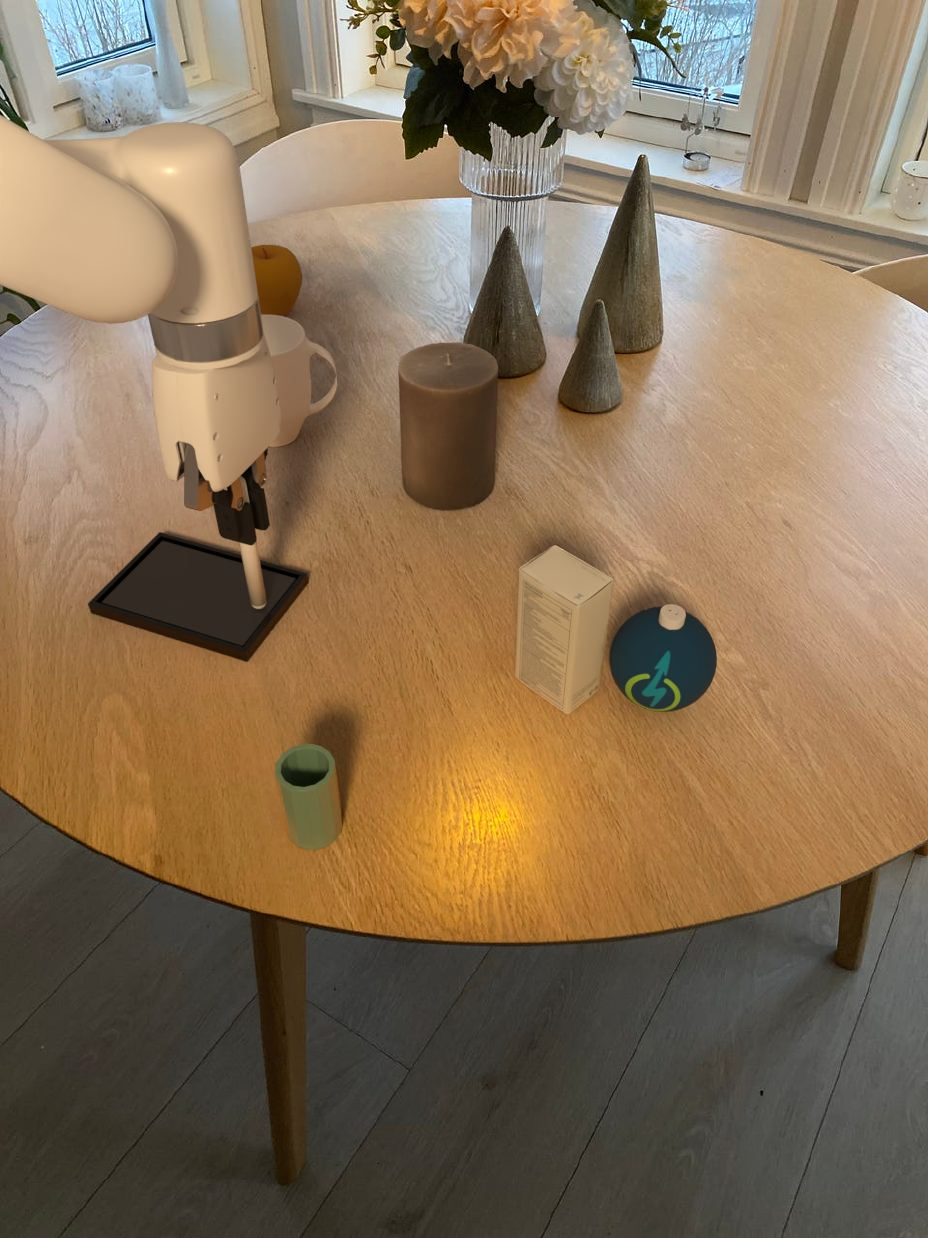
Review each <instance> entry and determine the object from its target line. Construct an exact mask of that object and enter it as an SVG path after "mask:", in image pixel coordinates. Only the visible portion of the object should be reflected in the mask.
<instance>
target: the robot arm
mask: <svg viewBox="0 0 928 1238" xmlns="http://www.w3.org/2000/svg"><path fill="white" fill-rule="evenodd" d="M241 174H242V172H241V167H240V162H239V156H238V153H237V150H236V148H235V146H234V145H233V142H232V141H231V140H230V138H229V137H228V136H227V135H226V134H225V133H224V132H222V131H221V130H219V129H217V128H215V127H213V126H209V125H205V124H201V123H194V122H183V121H179V122H178V121H176V122H174V121H173V122H161V123H155V124H151V125H147V126H143V127H140V128H137V129H135V130H132V131H131V132H128V133H127V134H125V135H122V136H113V137H112V136H111V137H97V138H78V139H77V138H75V139H74V138H73V139H72V138H71V139H42V138H41V137H39V136H38V135H35V134H34V133H32V132H30V131H29V130H27V129H25V128H23V127H22V126H20V125H19V124H16V123H15V122H14V121H12V120H10V119H8V118H6V117H5V116H3V115H1V114H0V286H1V287H4V288H7V289H9V290H11V291H14V292H16V293H18V294H21V295H24V296H26V297H28V298H31V299H33V300H36V301H37V302H40V303H42V304H45V305H48V306H50V307H52V308H54V309H58V310H59V311H61V312H65V313H66V314H70V315H72V316H75V317H78V318H80V319H83V320H85V321H90V322H94V323H101V324H108V325H109V324H110V325H113V324H124V323H129V322H133V321H138V320H140V319H142V318H143V317H146V316H147V318H148V322H149V327H150V331H151V335H152V340H153V345H154V349H155V350H154V351H155V353H156V356H154V358H153V359H152V361H151V393H152V394H151V395H152V402H153V403H152V405H153V414H154V419H155V427H156V433H157V439H158V444H159V451H160V455H161V459H162V464H163V468H164V472H165V474H166V477H167V479H168V480H169V481H171V482H178V481H179V480H181V479H183V503H184V504H183V505H184V507H185V508H186V509H191V510H194V511H198V512H202V511H206V510H207V509H209V508H212V507H213V510H214V514H215V515H214V516H215V520H216V525H217V530H218V534H219V537H221V538H222V539H225V540H229V541H233V542H236V543H238V544H239V543H243V544H247V545H251V546H252V545H253V544H254V543H255V542H257V541H258V539H257V537H258V536H257V532H256V530H258V531H267V530H268V528H269V527H271V522H270V516H269V510H268V504H267V498H266V492H265V488H263V487H264V486H265V485H266V482H267V478H268V475H267V466H266V460H267V456H268V454H269V452H268V451H269V448H270V447H269V446H270V444H271V443H272V442H273V441H274V440H275V438H276V437H277V436H278V434H279V432H280V429H281V408H280V400H279V393H278V387H277V382H276V377H275V372H274V368H273V363H272V359H271V355H270V351H269V348H268V344H267V341H266V338H265V335H264V332H263V327H262V320H261V313H260V306H259V299H258V292H257V285H256V278H255V271H254V264H253V257H252V250H251V247H252V243H251V238H250V237H251V236H250V231H249V222H248V215H247V209H246V203H245V202H246V201H245V195H244V188H243V181H242V175H241ZM240 476H242V477H243V478H244V479H245V481H246V485H247V491H248V497H249V502H250V503H248V502H245V499H244V494H243V489H242V485H241V480H240Z"/></svg>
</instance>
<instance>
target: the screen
mask: <svg viewBox="0 0 928 1238" xmlns="http://www.w3.org/2000/svg"><path fill="white" fill-rule="evenodd" d="M261 571H262V577H263V582H264V588H265V594H266V599H267V603H266V605H265V607H263V608H262V609H256V608H254V607H253V606H252V605H251V602H250V597H249V592H248V586H247V581H246V576H245V571H244V565H243V563H240V562H236V561H233V560H229V559H226V558H222V557H219V556H215V555H212V554H208V553H205V552H201V551H197V550H194V549H190V548H187V547H183V546H180V545H176V544H173V543H169V542H166V541H162V542H161V543H160V544H159V545H158V546H157V547H156V548H155V549H154V550H153V551H152V552H151V553H150V554H149V555H148V556H147V557H146V558H145V559H144V560H143V561H142V562H141V563H140V564H139V565H138V566H137V567H136V568H135V569H134V570H133V571H132V572H131V573H130V574H129V575H128V576H127V577H126V578H125V579H124V580H123V581H122V582H121V583H120V584H119V585H118V586H117V587H116V588H115V589H114V590H113V591H112V592H111V593H110V594H109V595H108V596H107V597H106V598H105V599H104V600H103V601H102V604H105V605H108V606H111V607H114V608H118V609H121V610H124V611H127V612H131V613H134V614H137V615H140V616H144V617H147V618H150V619H153V620H157V621H160V622H163V623H166V624H170V625H173V626H176V627H179V628H183V629H186V630H189V631H192V632H195V633H199V634H202V635H205V636H208V637H212V638H215V639H218V640H221V641H225V642H228V643H231V644H234V645H238V646H241V647H244V646H245V645H246V643H247V642H248V641H249V640H250V638H251V637H252V636H253V635H254V633H255V632H256V631H257V630H258V628H259V627H260V626H261V624H262V623H263V622H264V621H265V619H266V618H267V617H268V616H269V614H270V613H271V612H272V611H273V609H274V608H275V607H276V605H277V604H278V603H279V602H280V600H281V599H282V598H283V597H284V595H285V594H286V593H287V592H288V590H289V589H290V588H291V586H292V585H293V584H294V583H295V581H296V578H293V577H289V576H286V575H282V574H279V573H275V572H272V571H268V570H265V569H261Z"/></svg>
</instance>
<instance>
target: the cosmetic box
mask: <svg viewBox="0 0 928 1238" xmlns="http://www.w3.org/2000/svg"><path fill="white" fill-rule="evenodd" d="M614 581H615V580H614V579H613V578H612V577H610V576H609V575H608V574H606V573H604V572H603V571H601V570H599V569H598V568H596V567H594V566H592V565H591V564H589V563H588V562H586V561H584V560H582V559H580V558H579V557H577V556H576V555H574V554H572V553H570V552H569V551H566V550H565V549H564V548H561V547H560V546H558V545H556V544H555V545H552V546H551V547H549V548H548V549H546V550H544V551H543V552H541V553H540V554H538V555H537V556H534V557H533V558H532V559H530V560H529V561H527V562H526V563H524V564H523V565H521V566H520V567H518V581H517V582H518V583H517V609H516V639H515V643H516V644H515V663H514V665H515V666H514V667H515V668H514V677H515V679H516V680H518V681H519V682H520V683H522V684H523V685H524V686H526V687H527V688H528V689H529V690H531V691H532V692H534V693H535V694H536V695H538V696H539V697H540V698H542V699H543V700H545V701H546V702H548V703H549V704H550V705H552V706H553V707H554V708H556V709H558V711H560V712H562V713H563V714H565V715H567V716H568V715H570V714H572V713H573V712H574V711H575V710H577V709H578V708H579V707H580V706H581V705H583V704H584V703H586V702H587V701H588V700H589V699H590V698H592V697H593V696H595V694H596V693H598V692H599V691H600V689H601V685H602V677H603V670H604V669H603V668H604V663H605V662H604V661H605V655H606V654H605V653H606V646H607V637H608V630H609V623H610V615H611V614H610V613H611V606H612V599H613V598H612V597H613V590H614Z"/></svg>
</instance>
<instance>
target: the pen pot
mask: <svg viewBox="0 0 928 1238" xmlns="http://www.w3.org/2000/svg"><path fill="white" fill-rule="evenodd" d="M337 774H338V773H337V765H336V760H335V758H334V756H333V754H332V753H331V752H330V750H328V749H326V748H325V747H323V746H321V745H319V744H314V743H303V744H298V745H294V746H292V747H290V748H288V749H287V750H285V751H284V752H282V754H281V755H280V757H279V758H278V759H277V761H276V762H275V768H274V777H275V782H276V787H277V790H278V798H279V802H280V806H281V811H282V817H283V822H284V826H285V830H286V833H287V836H288V839H289V840H290V841H291V843H292V844H294V845H295V846H296V847H298V848H300V849H303V850H309V851H315V850H321V849H324V848H326V847H329V846H330V845H331V844H333V843H335V842H336V840H337V839H338V838H339V836H340V834H341V833H342V829H343V813H342V806H341V798H340V797H341V796H340V789H339V783H338V782H339V781H338V775H337Z"/></svg>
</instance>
